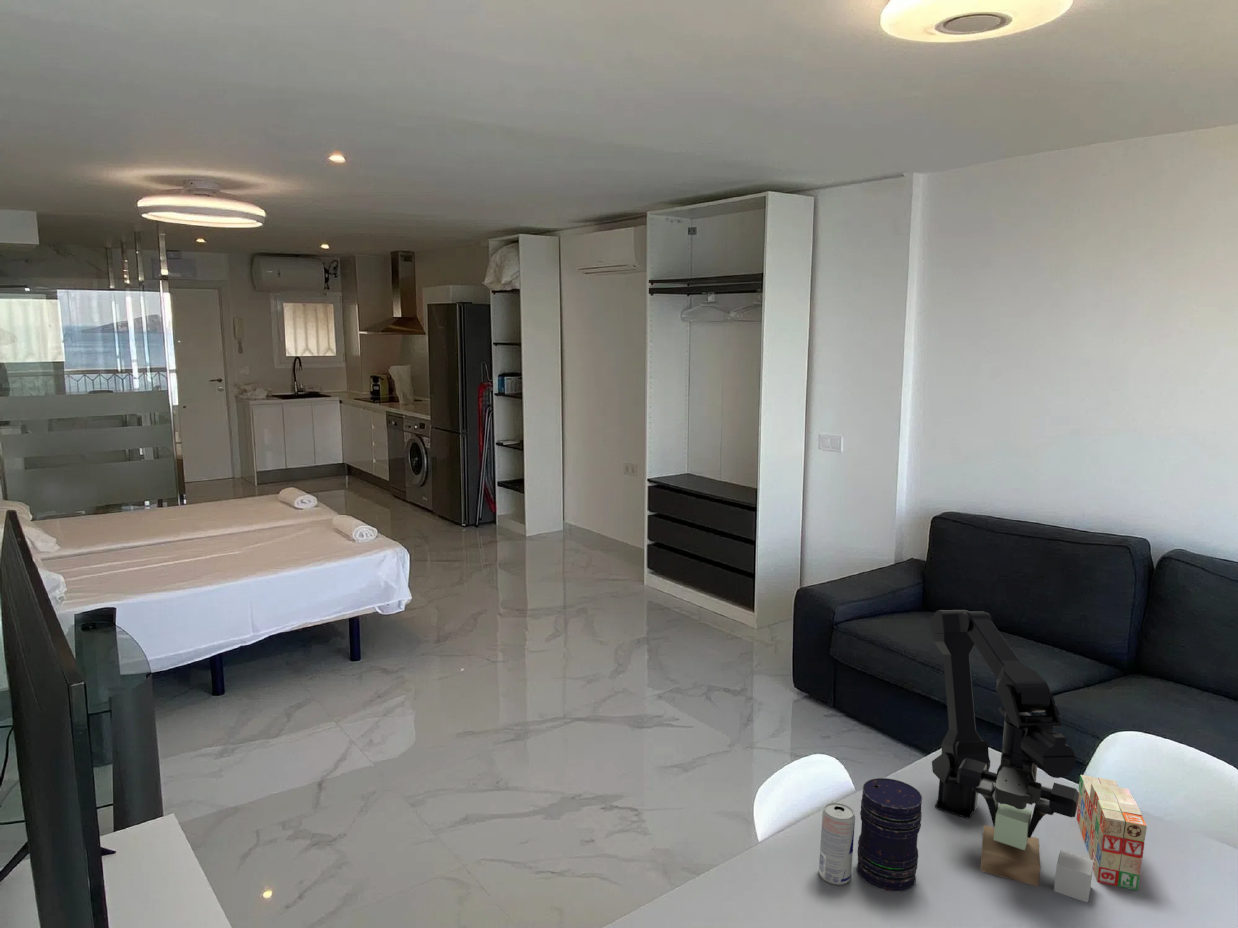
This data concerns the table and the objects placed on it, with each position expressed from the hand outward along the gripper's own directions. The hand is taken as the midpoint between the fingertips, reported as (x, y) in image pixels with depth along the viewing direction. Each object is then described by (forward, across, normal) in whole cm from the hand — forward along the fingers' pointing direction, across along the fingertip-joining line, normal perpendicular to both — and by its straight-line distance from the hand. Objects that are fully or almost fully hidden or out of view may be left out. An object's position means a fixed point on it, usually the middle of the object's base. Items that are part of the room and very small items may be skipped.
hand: (1012, 831), depth 143 cm
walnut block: (+7, 0, 0) cm, 7 cm away
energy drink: (+6, -24, -22) cm, 33 cm away
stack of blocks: (+7, +14, +15) cm, 21 cm away
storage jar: (+6, -17, -16) cm, 24 cm away
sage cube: (+1, 0, 0) cm, 1 cm away
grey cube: (+6, +10, -1) cm, 12 cm away
